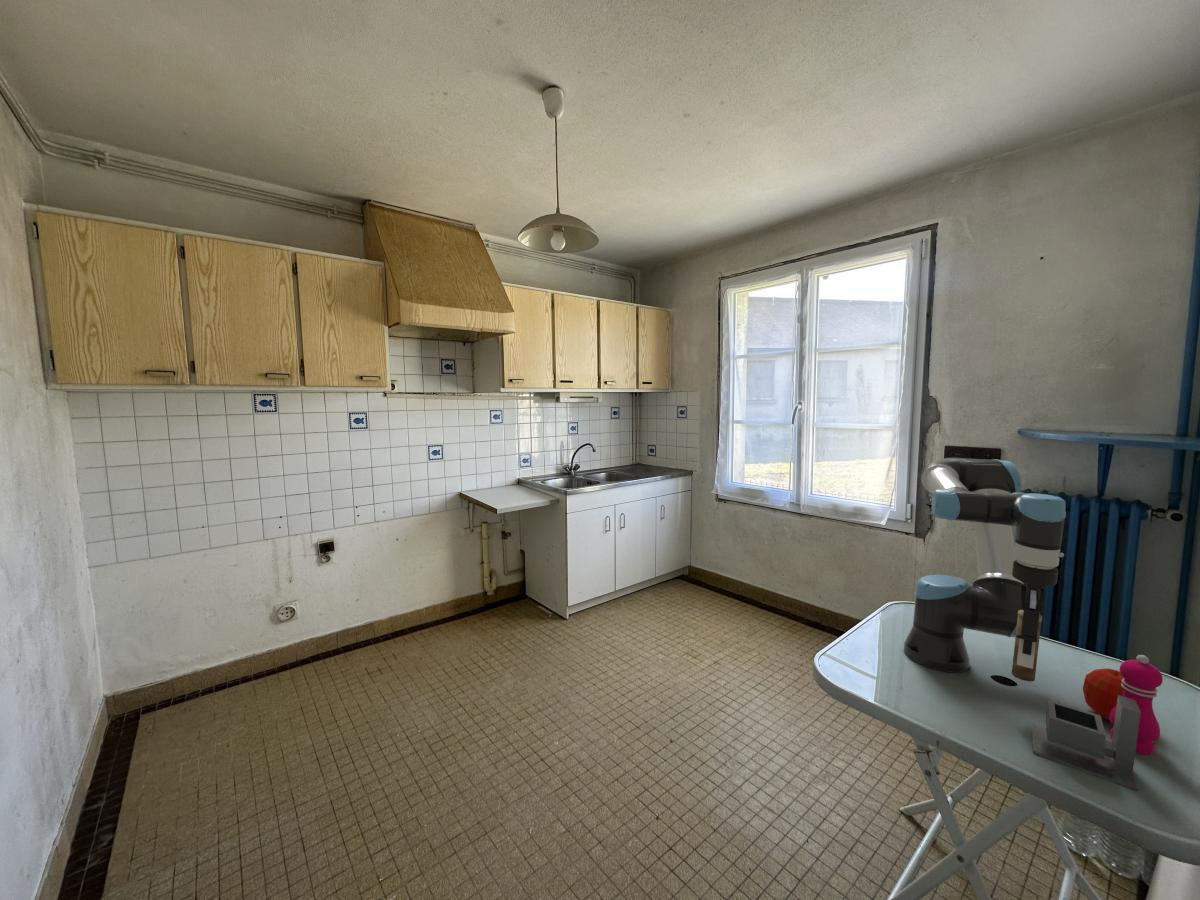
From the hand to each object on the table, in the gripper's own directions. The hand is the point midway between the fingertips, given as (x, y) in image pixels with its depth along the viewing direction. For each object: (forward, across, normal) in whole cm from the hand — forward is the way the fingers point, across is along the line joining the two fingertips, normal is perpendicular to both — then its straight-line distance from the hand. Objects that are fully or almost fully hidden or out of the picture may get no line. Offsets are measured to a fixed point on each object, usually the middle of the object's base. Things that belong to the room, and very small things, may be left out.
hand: (1024, 661), depth 110 cm
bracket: (+13, -9, -9) cm, 18 cm away
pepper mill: (+14, +3, -18) cm, 23 cm away
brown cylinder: (+4, 0, 0) cm, 4 cm away
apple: (+14, +13, -16) cm, 25 cm away
